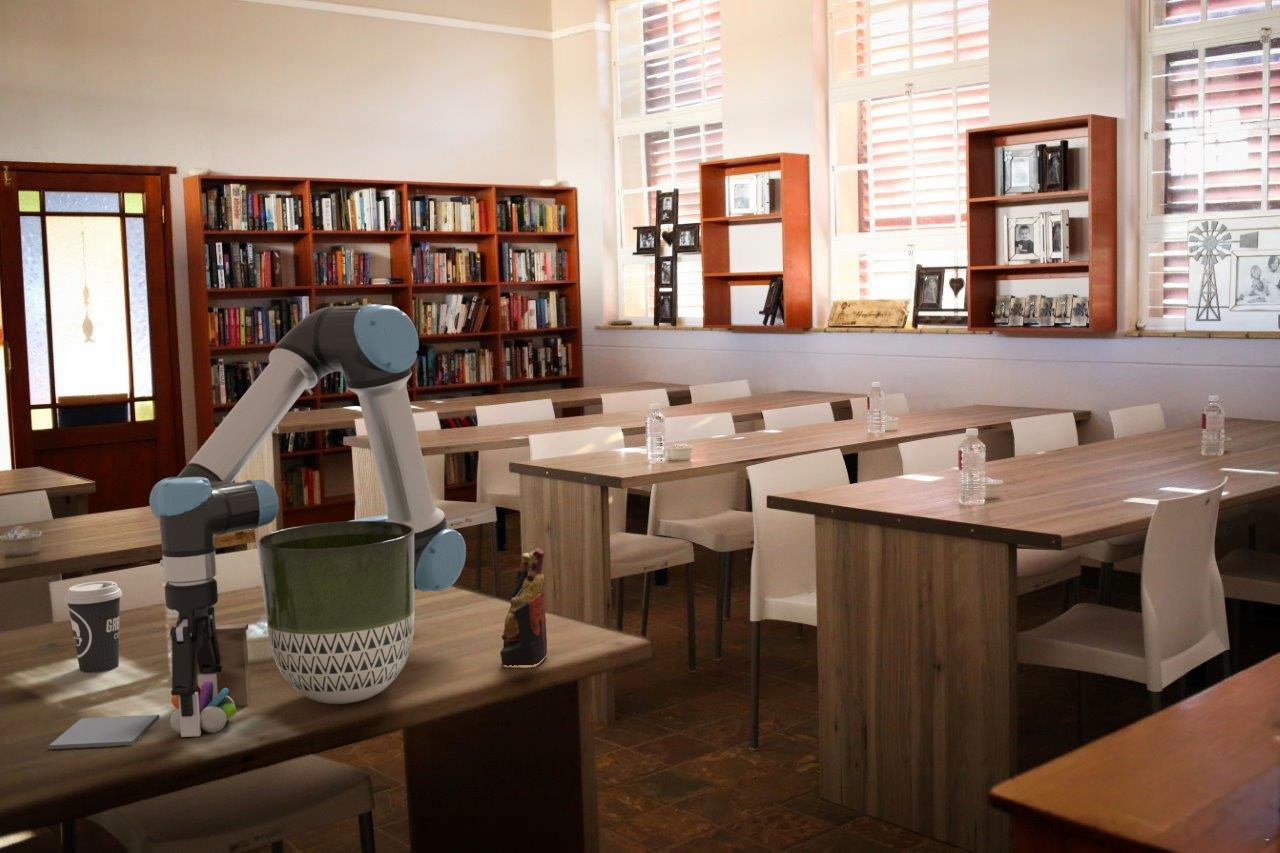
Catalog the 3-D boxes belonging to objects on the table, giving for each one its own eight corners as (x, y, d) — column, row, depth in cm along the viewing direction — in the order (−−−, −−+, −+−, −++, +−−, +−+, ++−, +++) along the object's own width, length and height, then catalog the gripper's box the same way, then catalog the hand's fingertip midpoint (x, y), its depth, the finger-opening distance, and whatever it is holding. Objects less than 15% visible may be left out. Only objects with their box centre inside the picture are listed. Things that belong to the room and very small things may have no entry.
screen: (253, 700, 204) (248, 623, 203) (249, 705, 202) (243, 627, 200) (181, 704, 204) (175, 627, 202) (175, 709, 201) (170, 631, 200)
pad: (159, 718, 197) (159, 714, 197) (132, 745, 185) (131, 741, 185) (81, 722, 196) (81, 718, 196) (49, 749, 185) (49, 745, 184)
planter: (294, 677, 217) (285, 522, 214) (435, 673, 216) (427, 518, 213) (246, 725, 192) (234, 551, 190) (404, 721, 191) (395, 547, 189)
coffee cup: (106, 676, 221) (100, 592, 220) (58, 674, 223) (51, 591, 222) (138, 660, 231) (132, 580, 229) (92, 659, 233) (85, 579, 231)
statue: (512, 652, 228) (508, 543, 226) (554, 653, 226) (550, 544, 224) (490, 671, 216) (486, 556, 214) (535, 672, 214) (530, 557, 213)
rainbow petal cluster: (181, 719, 196) (178, 673, 195) (244, 716, 197) (240, 671, 196) (163, 737, 188) (159, 690, 187) (228, 734, 188) (225, 687, 187)
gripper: (187, 566, 201) (197, 703, 203) (140, 597, 179) (151, 751, 181) (235, 564, 201) (244, 701, 203) (193, 595, 179) (204, 748, 182)
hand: (200, 724), depth 192 cm, fingers open, 9 cm apart
